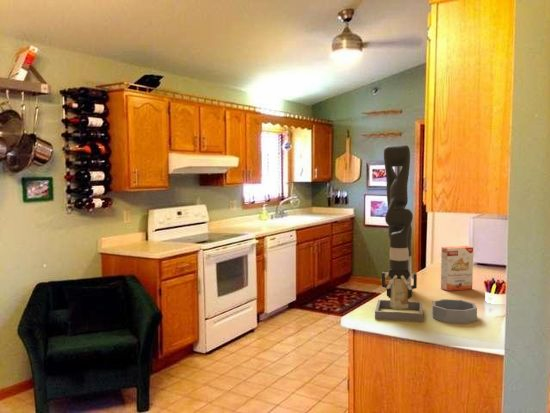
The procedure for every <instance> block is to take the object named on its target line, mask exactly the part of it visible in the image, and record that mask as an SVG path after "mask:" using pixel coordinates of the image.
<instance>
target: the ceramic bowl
mask: <svg viewBox="0 0 550 413" xmlns="http://www.w3.org/2000/svg"><path fill="white" fill-rule="evenodd" d="M431 307H432V311H431V312H432V313H431V314H432V318H433V319H434V320H436V321H440V322H444V323H446V324H447V323H448V324H458V325H459V324H460V325H465V324H471V323H474V322H477V321H478V307H477V305H476V303H474V302H470V301H467V300H462V299H450V298H449V299H448V298H443V299H442V298H441V299H438V300H434V301H432V306H431Z"/></svg>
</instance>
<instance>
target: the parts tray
mask: <svg viewBox="0 0 550 413" xmlns="http://www.w3.org/2000/svg"><path fill="white" fill-rule="evenodd" d="M384 307H386V308H388V309H393V308H392V307H390V299H378V300H377V303H376V307H375V309H374V319H375V320H385V319H386V320H387V321H399V322H400V321H402V322H417V323H418V322H419V323H423V321H424V320H423V318H424V317H423V316H424V314H423V301H409V300H408V308H404V309H405V310H419V312H418V313H417V312H404V311H403V312H402V311H400V312H399V311H387V310H386V311H383V310H381V308H384Z"/></svg>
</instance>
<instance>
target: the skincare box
mask: <svg viewBox="0 0 550 413" xmlns="http://www.w3.org/2000/svg"><path fill="white" fill-rule="evenodd" d="M391 280H392V279H391V278H390V280H389V282H390V281H391ZM407 282H409V279H407ZM408 289H409V288H408V287H407V286H406V284H405V283H404V281H403V280H402V279H397V278H396V279H393V284H392V285H391V287H390V298H389V300H390V307H392V308H391V309H393V310H398V309H399V310H400V309H401V310H402V308H408V301H409V299H408Z"/></svg>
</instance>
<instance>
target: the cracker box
mask: <svg viewBox="0 0 550 413" xmlns="http://www.w3.org/2000/svg"><path fill="white" fill-rule="evenodd" d="M440 253H441V255H440V256H441V262H440V289H442V290H444V291H447V292H450V291H451V292H452V291H466V290H473V279H474V278H473V274H474V273H473V271H474V247H472V246H468V245H457V246H456V245H455V246H441V252H440Z"/></svg>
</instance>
